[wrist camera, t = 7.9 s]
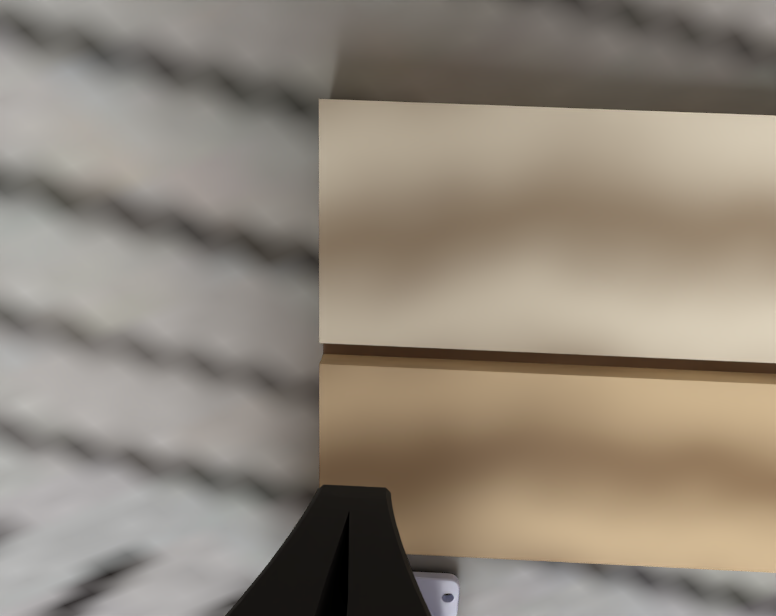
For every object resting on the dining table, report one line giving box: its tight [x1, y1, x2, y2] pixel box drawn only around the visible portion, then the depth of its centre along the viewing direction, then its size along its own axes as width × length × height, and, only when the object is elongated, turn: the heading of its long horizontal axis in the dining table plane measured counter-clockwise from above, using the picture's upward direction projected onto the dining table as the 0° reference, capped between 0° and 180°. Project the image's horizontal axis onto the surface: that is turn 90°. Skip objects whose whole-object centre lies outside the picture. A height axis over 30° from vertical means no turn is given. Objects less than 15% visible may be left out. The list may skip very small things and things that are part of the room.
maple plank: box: [319, 99, 776, 363], centre depth 18 cm, size 8×24×2 cm, turn 88°
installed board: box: [319, 343, 776, 573], centre depth 20 cm, size 9×24×2 cm, turn 88°
